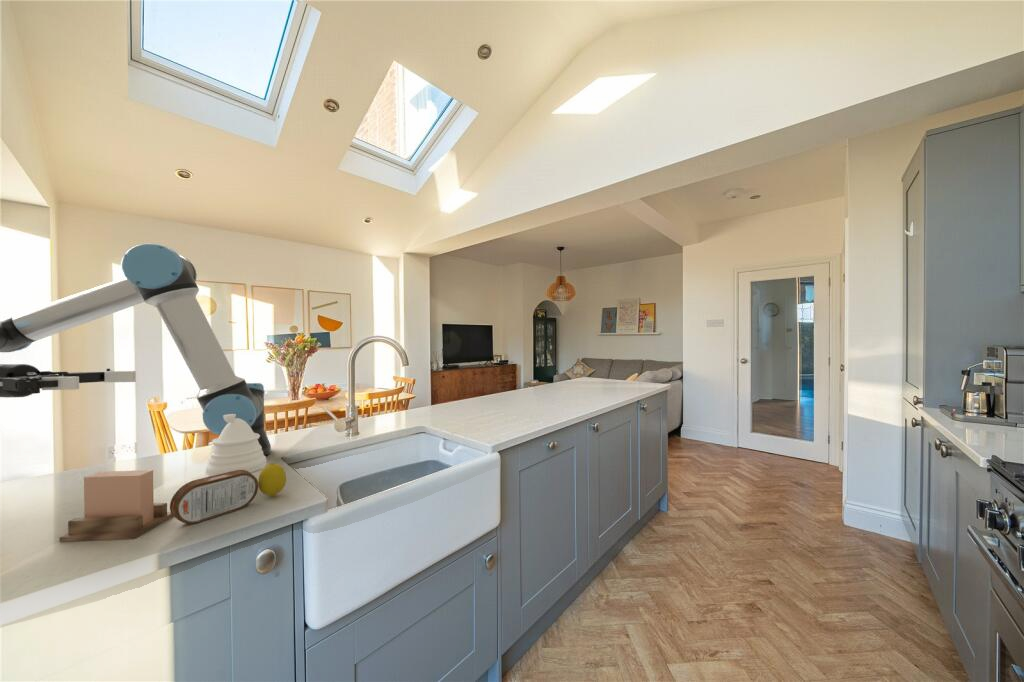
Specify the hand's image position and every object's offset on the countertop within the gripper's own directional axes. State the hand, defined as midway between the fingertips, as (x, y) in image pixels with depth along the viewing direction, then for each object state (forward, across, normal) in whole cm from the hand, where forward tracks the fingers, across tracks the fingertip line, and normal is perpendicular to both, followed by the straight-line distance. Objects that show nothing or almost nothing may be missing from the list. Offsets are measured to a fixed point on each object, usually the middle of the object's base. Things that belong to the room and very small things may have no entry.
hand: (108, 379), depth 89 cm
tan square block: (+15, +15, -27) cm, 34 cm away
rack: (+15, +15, -28) cm, 35 cm away
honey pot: (+23, -8, -28) cm, 37 cm away
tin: (+30, +11, -28) cm, 43 cm away
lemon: (+37, +2, -28) cm, 47 cm away
